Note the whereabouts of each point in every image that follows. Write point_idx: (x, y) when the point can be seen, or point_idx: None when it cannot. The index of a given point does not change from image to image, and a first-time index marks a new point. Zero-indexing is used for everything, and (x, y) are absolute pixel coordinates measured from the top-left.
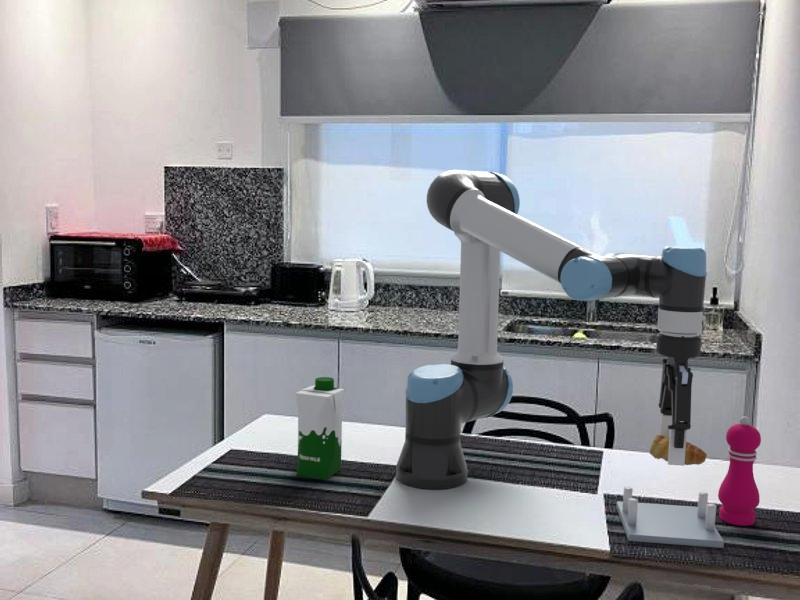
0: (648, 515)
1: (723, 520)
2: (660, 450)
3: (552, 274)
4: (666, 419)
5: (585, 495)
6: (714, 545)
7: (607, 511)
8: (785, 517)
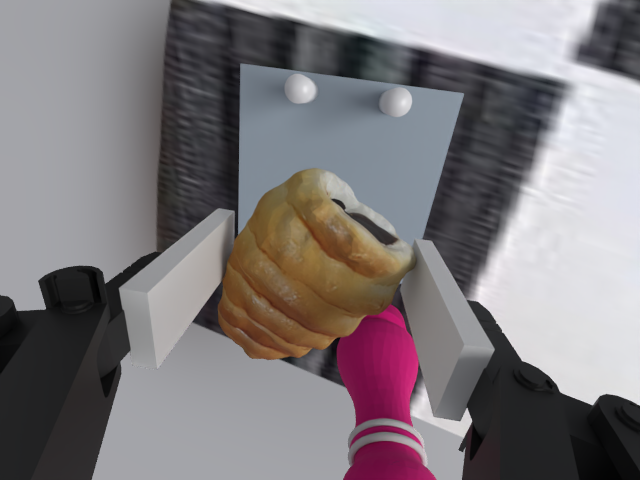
0: (361, 152)
1: None
2: (263, 206)
3: None
4: (445, 353)
5: (567, 15)
6: None
7: (431, 58)
8: None
